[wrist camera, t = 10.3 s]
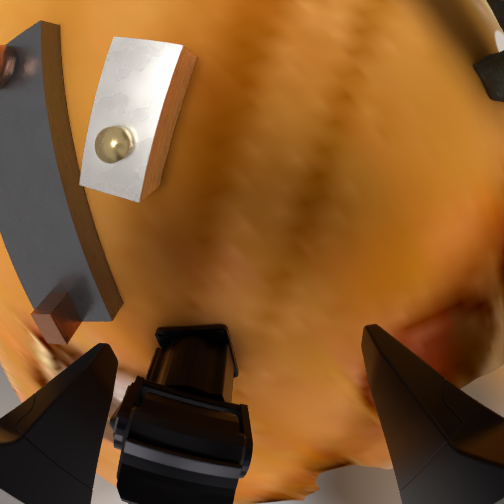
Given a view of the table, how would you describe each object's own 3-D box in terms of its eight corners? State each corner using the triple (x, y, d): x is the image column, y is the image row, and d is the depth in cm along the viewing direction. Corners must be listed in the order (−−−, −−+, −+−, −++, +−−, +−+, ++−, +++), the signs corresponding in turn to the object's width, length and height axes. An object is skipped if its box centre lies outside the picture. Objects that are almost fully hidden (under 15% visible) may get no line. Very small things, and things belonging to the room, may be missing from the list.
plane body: (-10, 73, 14) (-53, 77, 9) (59, 25, 13) (14, 14, 8) (52, 305, 24) (25, 340, 19) (123, 303, 24) (98, 346, 19)
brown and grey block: (140, 48, 15) (107, 34, 11) (198, 58, 15) (178, 42, 11) (108, 170, 19) (72, 188, 14) (160, 185, 19) (133, 207, 15)
